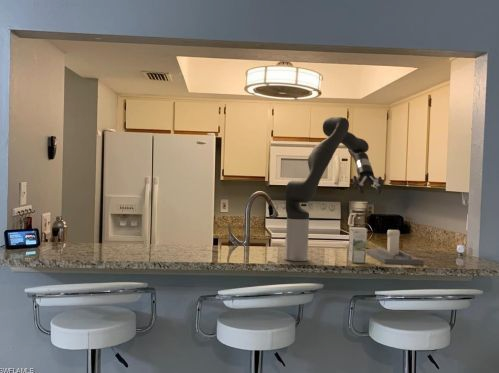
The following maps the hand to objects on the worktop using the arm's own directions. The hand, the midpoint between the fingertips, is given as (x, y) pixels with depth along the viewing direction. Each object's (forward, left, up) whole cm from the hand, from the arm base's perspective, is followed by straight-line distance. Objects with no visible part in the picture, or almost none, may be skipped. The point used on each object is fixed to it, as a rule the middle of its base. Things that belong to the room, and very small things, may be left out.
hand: (370, 193), depth 194 cm
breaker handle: (+6, -14, -26) cm, 31 cm away
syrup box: (-13, -24, -29) cm, 40 cm away
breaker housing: (+6, -14, -29) cm, 33 cm away
